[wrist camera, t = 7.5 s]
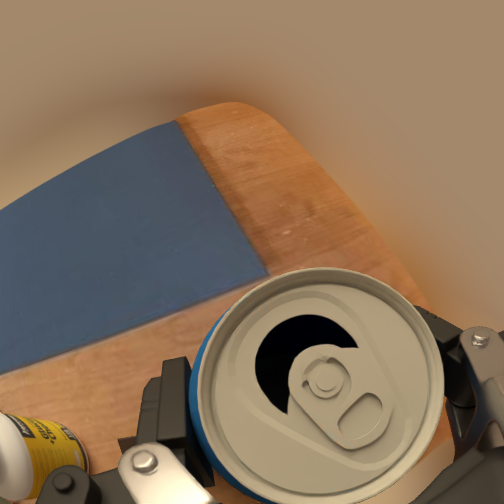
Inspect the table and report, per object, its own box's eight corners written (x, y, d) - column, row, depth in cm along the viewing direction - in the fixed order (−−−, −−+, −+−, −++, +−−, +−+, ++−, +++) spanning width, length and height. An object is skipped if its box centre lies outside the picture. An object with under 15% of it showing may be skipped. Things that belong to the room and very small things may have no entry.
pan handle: (143, 455, 17) (124, 460, 14) (137, 437, 18) (116, 438, 15) (204, 442, 18) (194, 446, 15) (196, 423, 19) (185, 424, 15)
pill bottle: (101, 447, 17) (0, 448, 7) (82, 503, 14) (-12, 524, 4) (46, 408, 18) (-53, 378, 8) (29, 461, 15) (-66, 451, 5)
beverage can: (284, 337, 18) (330, 210, 8) (353, 409, 15) (491, 371, 5) (202, 400, 16) (119, 359, 6) (272, 478, 13) (312, 571, 3)
